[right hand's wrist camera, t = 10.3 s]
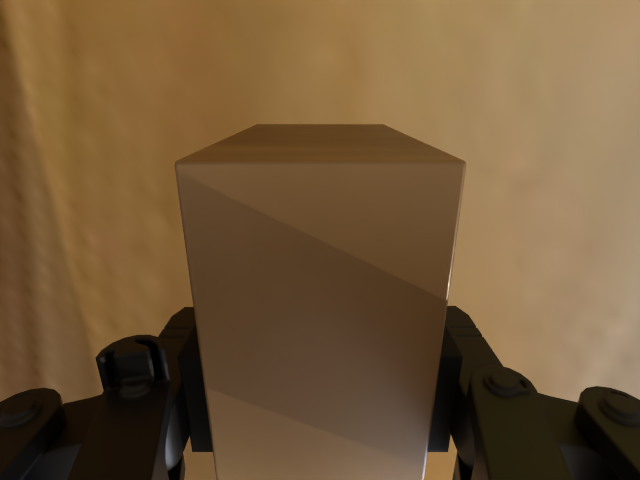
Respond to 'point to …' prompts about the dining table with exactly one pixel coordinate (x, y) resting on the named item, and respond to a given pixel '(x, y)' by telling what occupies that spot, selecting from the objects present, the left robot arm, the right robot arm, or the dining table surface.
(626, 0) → the dining table surface
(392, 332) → the beam
